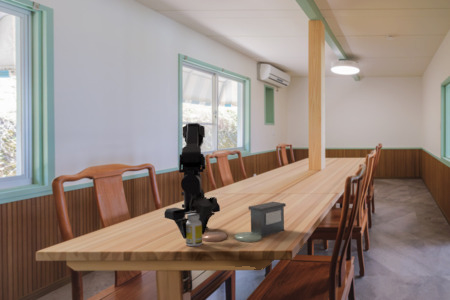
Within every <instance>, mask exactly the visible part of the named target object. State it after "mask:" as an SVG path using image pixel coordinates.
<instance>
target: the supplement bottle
mask: <svg viewBox="0 0 450 300" xmlns="http://www.w3.org/2000/svg"><path fill="white" fill-rule="evenodd" d="M186 218H187V219H188V221H187V223H186V232H187V236H186V239H185V244H186V246H189V247H197V246H198V247H199V246H201V245H202V244H203V240H202V223H201V221H200V220H199V214H196V213H192V214H186Z"/></svg>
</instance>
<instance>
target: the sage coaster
mask: <svg viewBox="0 0 450 300" xmlns="http://www.w3.org/2000/svg"><path fill="white" fill-rule="evenodd" d="M234 240H235V241H238V242H243V243H255V242H259V241H261V240H262V237H261V234H258V233H253V232H251V231H244V232H238V233H236V234H234Z"/></svg>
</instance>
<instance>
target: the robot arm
mask: <svg viewBox="0 0 450 300" xmlns="http://www.w3.org/2000/svg"><path fill="white" fill-rule="evenodd" d="M205 133H206V129H205V126H204V125H201V124H200V123H198V122H193V123H186V124H185V125H184V126H183V127H182V138H183V139H184V142H185V146H184V147H182V148H181V154H179V162H178V165H179V167H178V172H179V174H180V173H183V177H182V179H181V182H180V185H181V186H180V187H181V189H182V192H181V196H183V204H181V208H179V207H170V208H166V209H165V210H164V218H165V219H168V220H172V221H174V223H175V225H176V226H177V227H178V230H179V232H180V234H181V236H182V238H183V239H184V240H186V236H187V232H186V223H187V221H188V219H187V217H186V216H187V215H188V214H192V213H196V214H199V220H200V221H201V223H202V234H204V233H206V229H208V228H209V226H208V222H209V220H210V218H211V217H213V216H215V213H218V212H220V211H221V206H220V204H219V203H218V200H217V197H216V196H215V197H214V196H213V197H212V196H211V197H209V198H208V197H207V196H205V195H206V194H205V192H204V190H203V188H202V175H201V173H204V170H205V169H206V157H205V154H204V153H202V145H203V143H204V138H206V134H205Z"/></svg>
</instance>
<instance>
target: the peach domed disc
mask: <svg viewBox="0 0 450 300" xmlns="http://www.w3.org/2000/svg"><path fill="white" fill-rule="evenodd" d="M226 239H227V233H225V232H223V231H222V232H220V231H208V232H207V231H206V232H205V233H204V234H202V242H203V241H204V242H208V243H209V242H211V243H213V242H214V243H215V242H220V241H224V240H226Z"/></svg>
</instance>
